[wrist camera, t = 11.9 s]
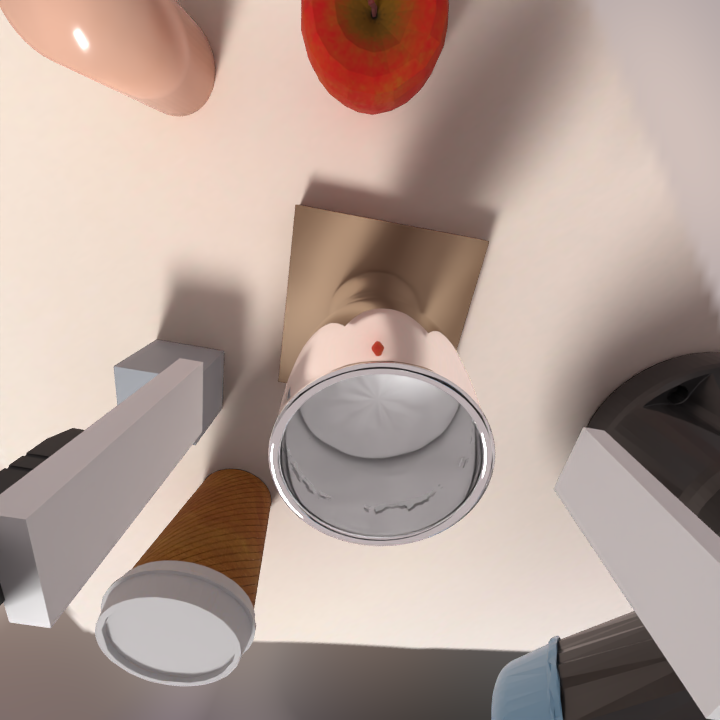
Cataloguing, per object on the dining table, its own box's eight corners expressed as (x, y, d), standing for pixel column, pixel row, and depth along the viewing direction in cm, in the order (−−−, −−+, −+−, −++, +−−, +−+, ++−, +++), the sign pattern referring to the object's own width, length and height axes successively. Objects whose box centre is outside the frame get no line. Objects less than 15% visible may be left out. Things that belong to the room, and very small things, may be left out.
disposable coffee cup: (303, 524, 34) (273, 678, 23) (210, 543, 35) (138, 699, 24) (265, 442, 30) (206, 577, 19) (163, 466, 31) (52, 607, 20)
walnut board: (482, 239, 24) (489, 241, 22) (435, 398, 28) (438, 408, 27) (299, 204, 23) (295, 204, 22) (282, 373, 28) (278, 381, 26)
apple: (352, -35, 19) (342, -179, 12) (450, 39, 20) (496, -53, 13) (298, 93, 21) (264, 36, 14) (390, 154, 22) (401, 128, 15)
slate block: (224, 350, 27) (195, 379, 22) (222, 407, 29) (195, 445, 24) (157, 339, 27) (113, 366, 22) (159, 397, 29) (119, 433, 24)
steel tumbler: (319, 263, 23) (245, 355, 9) (430, 263, 23) (523, 356, 9) (324, 363, 26) (272, 550, 12) (423, 364, 25) (486, 554, 12)
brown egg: (216, 16, 19) (124, -100, 12) (214, 123, 21) (134, 79, 14) (121, -4, 19) (-31, -136, 12) (128, 106, 21) (0, 52, 14)
